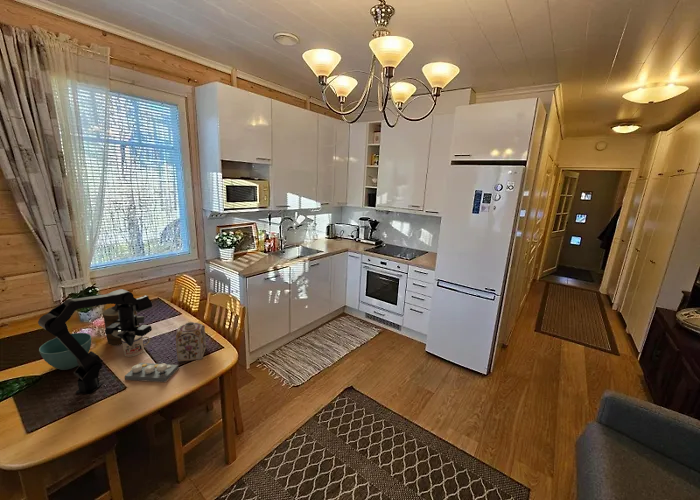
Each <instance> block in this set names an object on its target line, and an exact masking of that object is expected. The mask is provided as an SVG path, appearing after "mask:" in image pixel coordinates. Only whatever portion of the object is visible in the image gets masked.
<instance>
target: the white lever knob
mask: <svg viewBox="0 0 700 500" xmlns="http://www.w3.org/2000/svg"><path fill="white" fill-rule="evenodd" d="M158 364H159V365H158V366H157V372H160V374H163V373H164V372H165V370H166V369H167V364H168V363H165V362H163V363H158Z"/></svg>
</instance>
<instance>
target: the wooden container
mask: <svg viewBox="0 0 700 500" xmlns="http://www.w3.org/2000/svg"><path fill="white" fill-rule="evenodd" d="M117 305H120V304H117ZM114 306H115V305H114ZM114 306H111V307H108V308H107V309H105V310H104V311H103V312H102V316H103V321H104V330H105V329H106V328H107V327H108V326H110V325H112V324H113V323H118V324H120V322H117V320H118V319H119V315H118V311H115V310H113V309H112V307H114ZM133 311H134V310H133ZM137 314H138V312H137V311H134V315H136V316H138V315H137ZM136 327H140V324H139V325H138V326H136ZM118 334H119V333H118V331H114V330H113V333H112V334H105V336H106V342H107V344H108V345H110V346H123V344H122V341H121V340H122V338H121V337H119V336H117V335H118Z"/></svg>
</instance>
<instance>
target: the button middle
mask: <svg viewBox="0 0 700 500" xmlns="http://www.w3.org/2000/svg"><path fill="white" fill-rule="evenodd" d="M144 371H145V373H146V374H152V372H154V371H155V366H154V365H149V366H147V367H145V368H144Z"/></svg>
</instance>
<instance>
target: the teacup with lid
mask: <svg viewBox="0 0 700 500" xmlns="http://www.w3.org/2000/svg"><path fill="white" fill-rule="evenodd" d="M144 339H148V340H147V342H145V343H144ZM121 341H122V344H123V345H122V350H123V355H124V356H125V357H134V356H138V355H140V354H142V353H144V351H145V346H147V345H149V344H150V341H151V339H150V336H146V335H145V336H137V335H136V336H135V339H134V342H133V345H132V346H129V345H128V344H127V343H126V342H125V341H124V340H123V339H122V340H121Z"/></svg>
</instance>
